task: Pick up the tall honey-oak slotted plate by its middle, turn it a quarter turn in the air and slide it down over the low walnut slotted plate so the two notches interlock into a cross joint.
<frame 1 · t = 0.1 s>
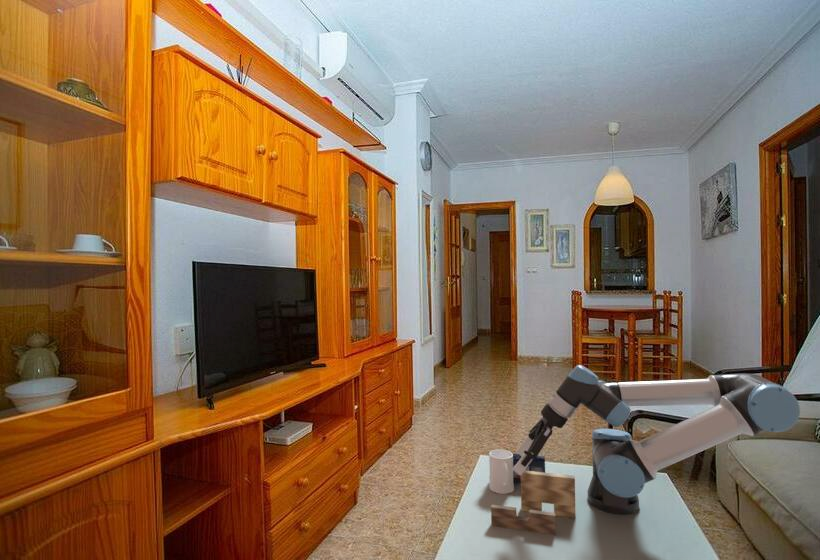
hand: (518, 462, 139), 15 cm above the table, tool tilted 35°, fingers open, 13 cm apart
cross plate: (548, 512, 137), on the table
vhs cassette tape: (518, 483, 158), on the table
mug: (502, 490, 152), on the table
standing plate: (522, 528, 129), on the table
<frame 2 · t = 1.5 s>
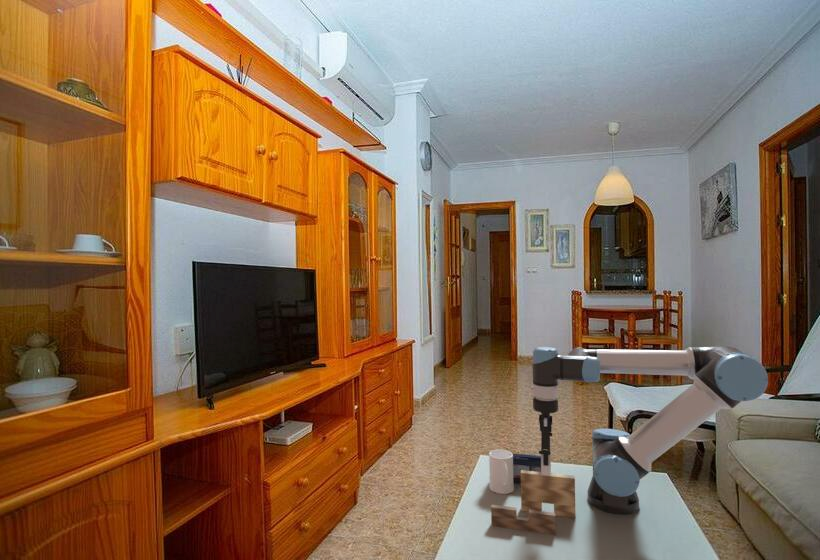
hand: (546, 465, 137), 15 cm above the table, tool pointing down, fingers open, 13 cm apart
nothing on the table moved.
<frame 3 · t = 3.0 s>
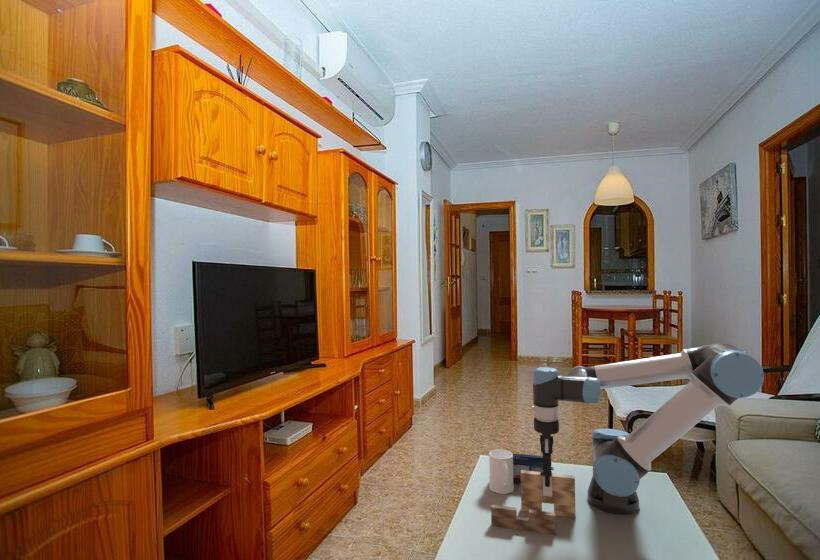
hand: (547, 493, 137), 6 cm above the table, tool pointing down, fingers closed on cross plate, 2 cm apart
cross plate: (548, 512, 137), on the table, touching gripper
everything else where it was.
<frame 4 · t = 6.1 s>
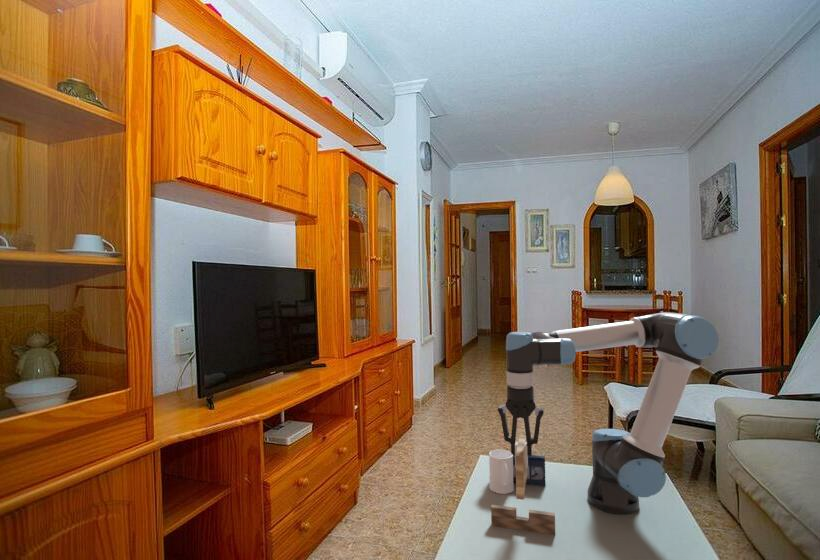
hand: (521, 465, 129), 18 cm above the table, tool pointing down, fingers closed on cross plate, 2 cm apart
cross plate: (522, 486, 129), point 13 cm above the table, touching gripper
everything else where it was.
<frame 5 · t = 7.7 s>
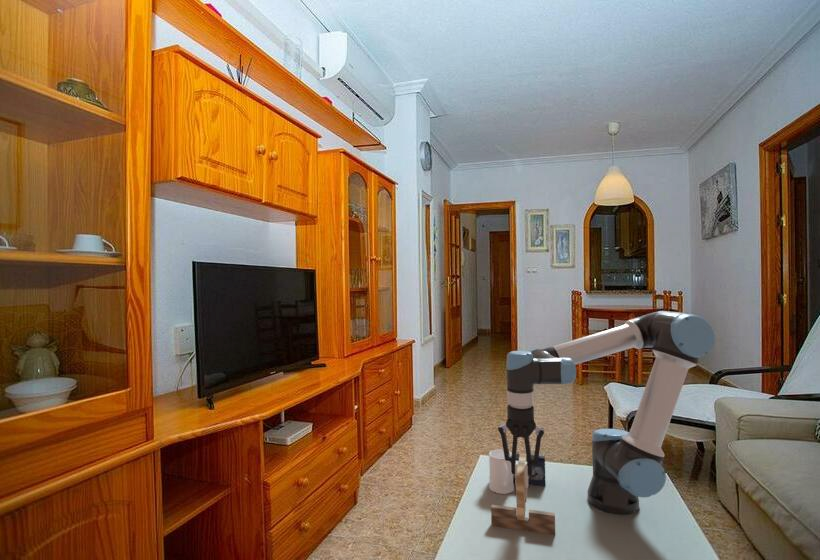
hand: (521, 485, 129), 13 cm above the table, tool pointing down, fingers closed on cross plate, 2 cm apart
cross plate: (522, 505, 129), point 7 cm above the table, touching gripper
everything else where it was.
when the fingers open (7 cm above the table, at t = 9.0 s): cross plate drops 1 cm, on the table.
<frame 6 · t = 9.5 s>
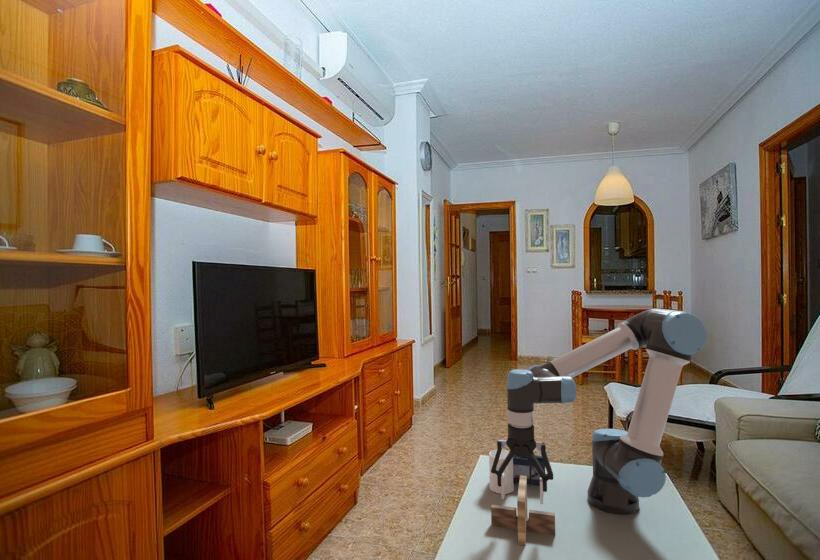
hand: (522, 499, 129), 9 cm above the table, tool pointing down, fingers open, 10 cm apart
cross plate: (523, 528, 129), on the table
everything else where it was.
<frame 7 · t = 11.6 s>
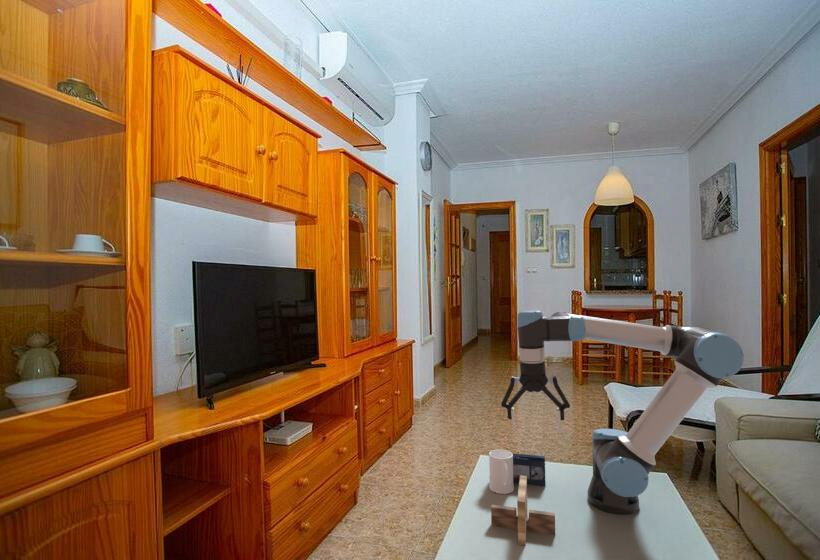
hand: (536, 430, 136), 26 cm above the table, tool pointing down, fingers open, 13 cm apart
nothing on the table moved.
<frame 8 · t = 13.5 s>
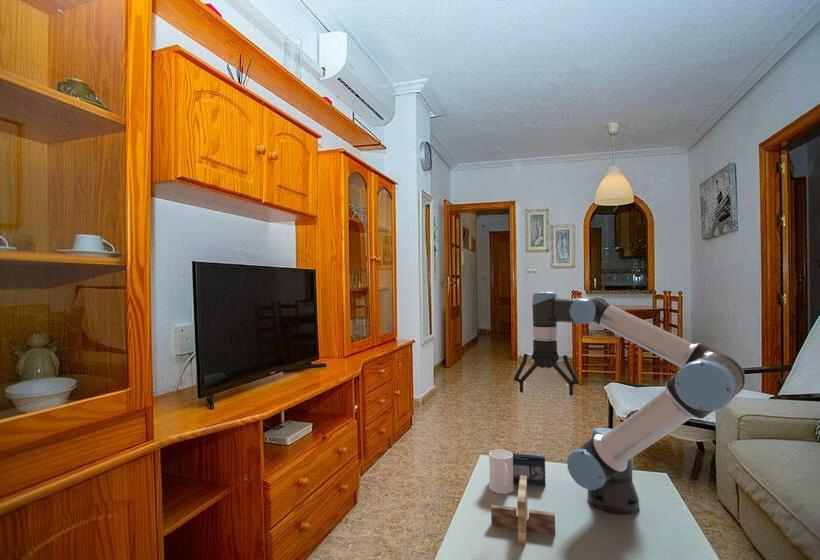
hand: (546, 403, 145), 32 cm above the table, tool pointing down, fingers open, 13 cm apart
nothing on the table moved.
at the end: cross plate 0.1 cm off-centre on the standing plate, point 0.0 cm above the standing plate's base; cross plate tilted 0°; the gripper is holding nothing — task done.
